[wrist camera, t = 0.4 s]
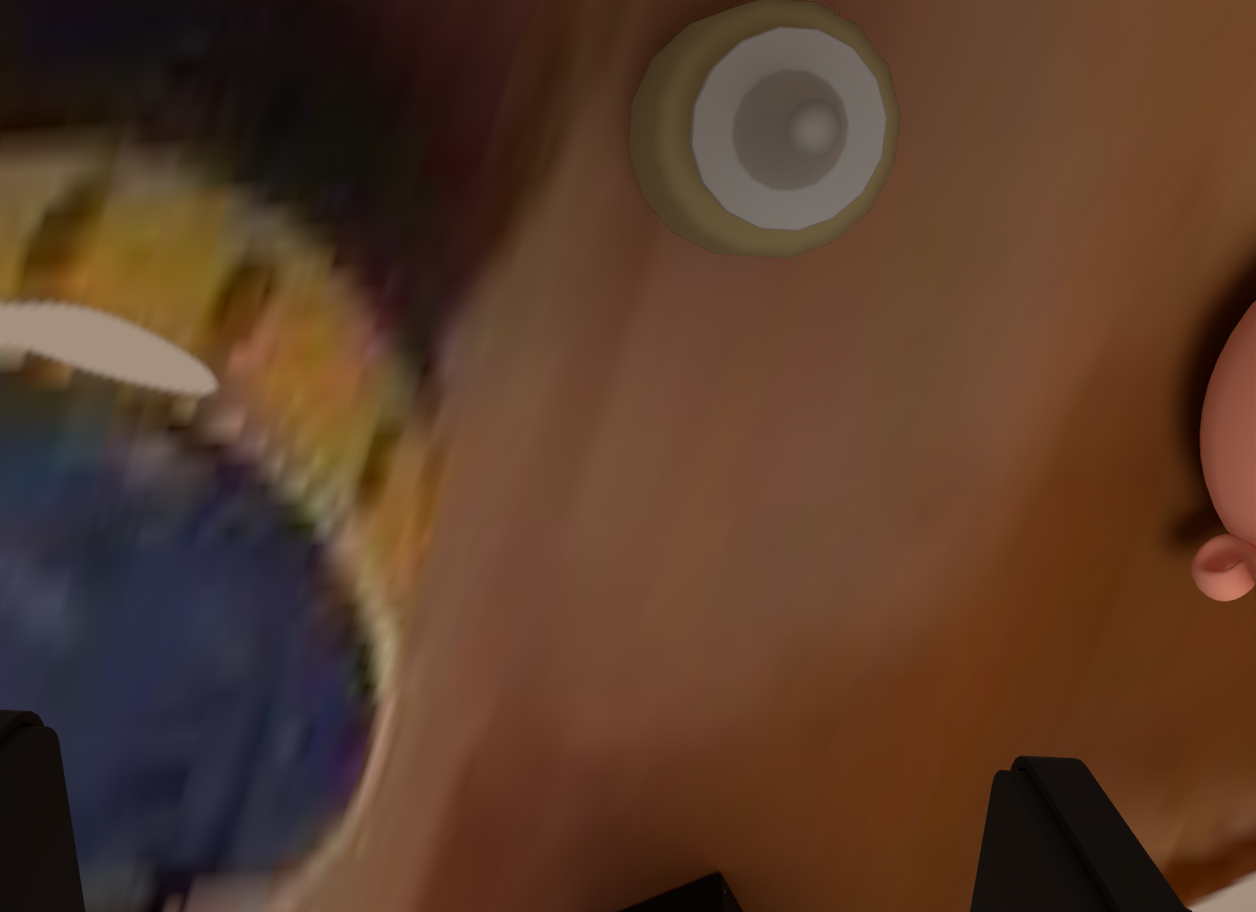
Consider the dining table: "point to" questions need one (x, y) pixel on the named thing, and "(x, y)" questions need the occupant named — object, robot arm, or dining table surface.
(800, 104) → the squeeze bottle
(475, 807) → the dining table surface
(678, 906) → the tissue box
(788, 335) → the dining table surface
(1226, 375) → the teapot
